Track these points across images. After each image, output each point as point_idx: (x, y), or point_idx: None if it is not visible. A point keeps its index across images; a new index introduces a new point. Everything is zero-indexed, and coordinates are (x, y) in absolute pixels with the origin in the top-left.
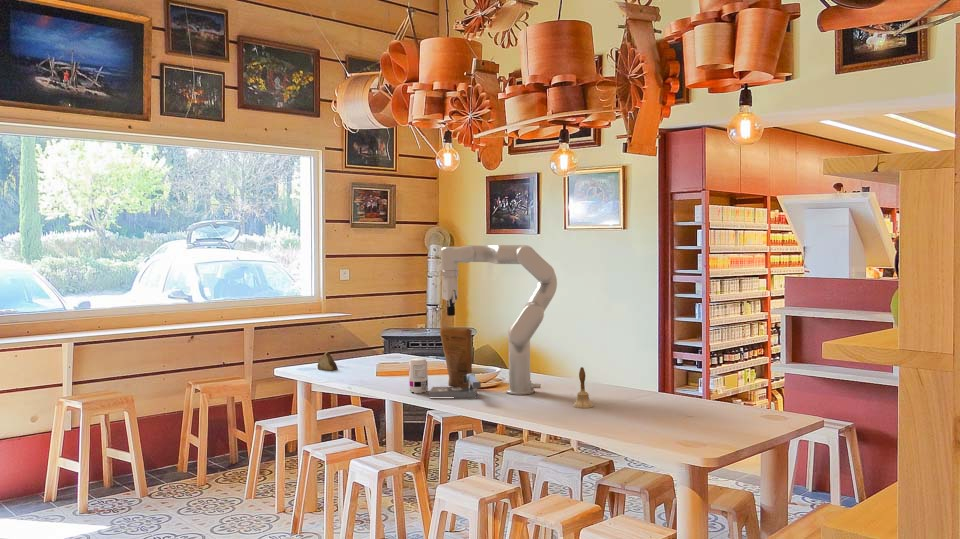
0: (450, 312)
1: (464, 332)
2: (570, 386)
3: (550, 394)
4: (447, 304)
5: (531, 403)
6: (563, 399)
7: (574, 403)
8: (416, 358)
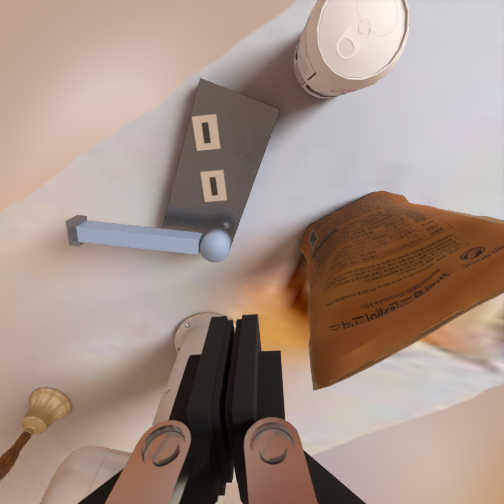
0: (187, 365)
1: (340, 348)
2: None
3: None
4: (246, 459)
5: (86, 329)
6: (114, 392)
7: (51, 395)
8: (402, 26)
